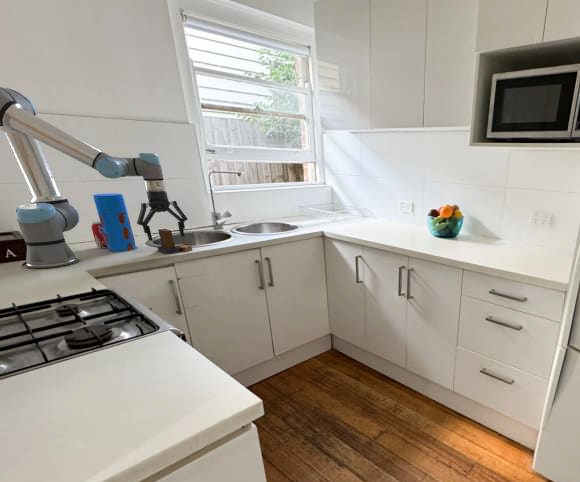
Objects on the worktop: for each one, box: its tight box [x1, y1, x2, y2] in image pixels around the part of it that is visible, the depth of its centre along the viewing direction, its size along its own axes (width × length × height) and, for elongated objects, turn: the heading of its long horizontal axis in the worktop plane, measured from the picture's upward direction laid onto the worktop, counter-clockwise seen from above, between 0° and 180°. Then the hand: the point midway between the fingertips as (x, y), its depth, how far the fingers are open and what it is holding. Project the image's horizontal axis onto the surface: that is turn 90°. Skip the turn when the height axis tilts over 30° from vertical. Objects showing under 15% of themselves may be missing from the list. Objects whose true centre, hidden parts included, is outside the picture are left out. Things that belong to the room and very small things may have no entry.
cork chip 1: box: [174, 243, 185, 247], centre depth 183 cm, size 4×4×2 cm
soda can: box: [90, 220, 109, 250], centre depth 181 cm, size 7×7×12 cm
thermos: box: [92, 192, 137, 253], centre depth 176 cm, size 11×11×25 cm
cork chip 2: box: [179, 244, 193, 253], centre depth 181 cm, size 4×4×2 cm
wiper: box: [157, 228, 182, 255], centre depth 177 cm, size 6×10×10 cm, turn 51°
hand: (167, 238), depth 177 cm, fingers open, 13 cm apart
